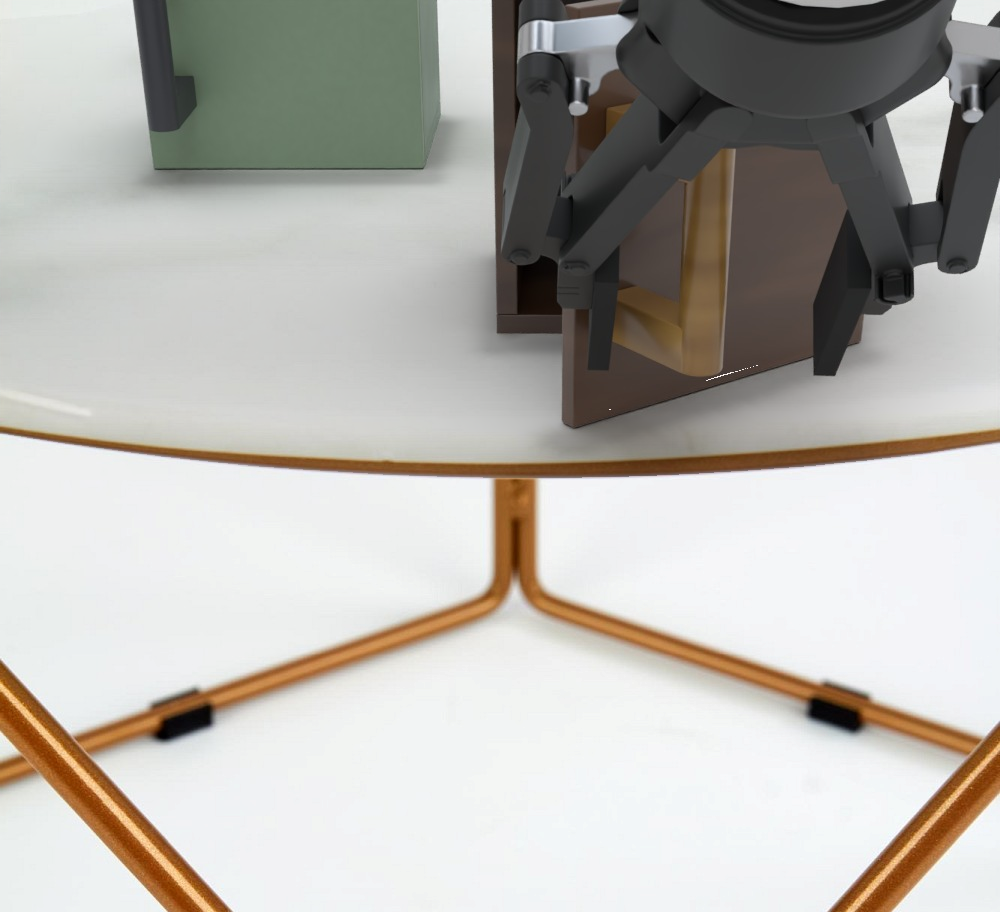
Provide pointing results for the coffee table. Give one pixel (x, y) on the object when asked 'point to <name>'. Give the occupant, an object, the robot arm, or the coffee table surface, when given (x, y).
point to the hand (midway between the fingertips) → (711, 336)
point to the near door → (703, 269)
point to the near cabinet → (519, 288)
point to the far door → (282, 83)
